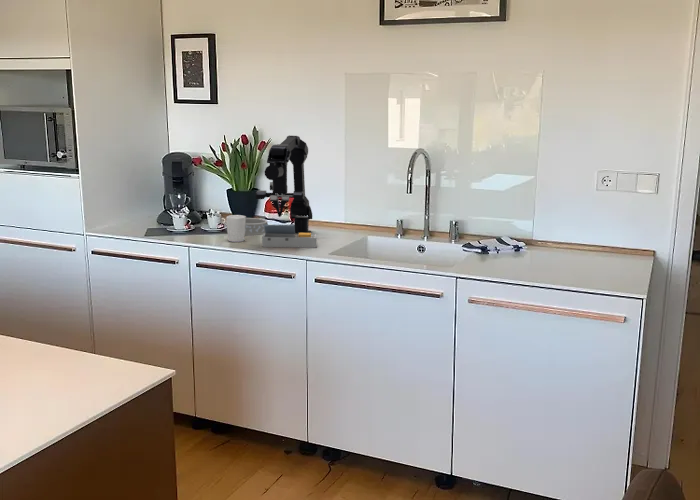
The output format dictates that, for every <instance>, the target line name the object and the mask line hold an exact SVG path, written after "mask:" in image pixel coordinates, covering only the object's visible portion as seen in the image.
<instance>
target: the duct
mask: <svg viewBox="0 0 700 500" xmlns="http://www.w3.org/2000/svg"><path fill="white" fill-rule="evenodd" d="M261 239H262V240H261V247H262V248H305V249H306V248H315V249H316V248H317V234H316V233H315V234H314V237H313V236H311V237H298V236H296V233H295V234H263V235H261Z"/></svg>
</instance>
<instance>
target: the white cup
mask: <svg viewBox="0 0 700 500" xmlns="http://www.w3.org/2000/svg"><path fill="white" fill-rule="evenodd" d="M225 218H226V229H227V230H226V231H227V240H228V242H233V243H234V242H235V243H238V242H239V243H240V242H244V241H245V239H246V238H245V224H246V218H247V216H246V215H241V214H233V215H227V216H226V217H225Z"/></svg>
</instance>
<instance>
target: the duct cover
mask: <svg viewBox="0 0 700 500" xmlns="http://www.w3.org/2000/svg"><path fill="white" fill-rule="evenodd" d="M264 228H265V234H295V235H296V233H295V225H294V224H264Z"/></svg>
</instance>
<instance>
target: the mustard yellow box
mask: <svg viewBox="0 0 700 500" xmlns="http://www.w3.org/2000/svg"><path fill="white" fill-rule="evenodd" d="M297 234H298V235H297V237H312V233H311V232H308V233H297Z"/></svg>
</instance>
